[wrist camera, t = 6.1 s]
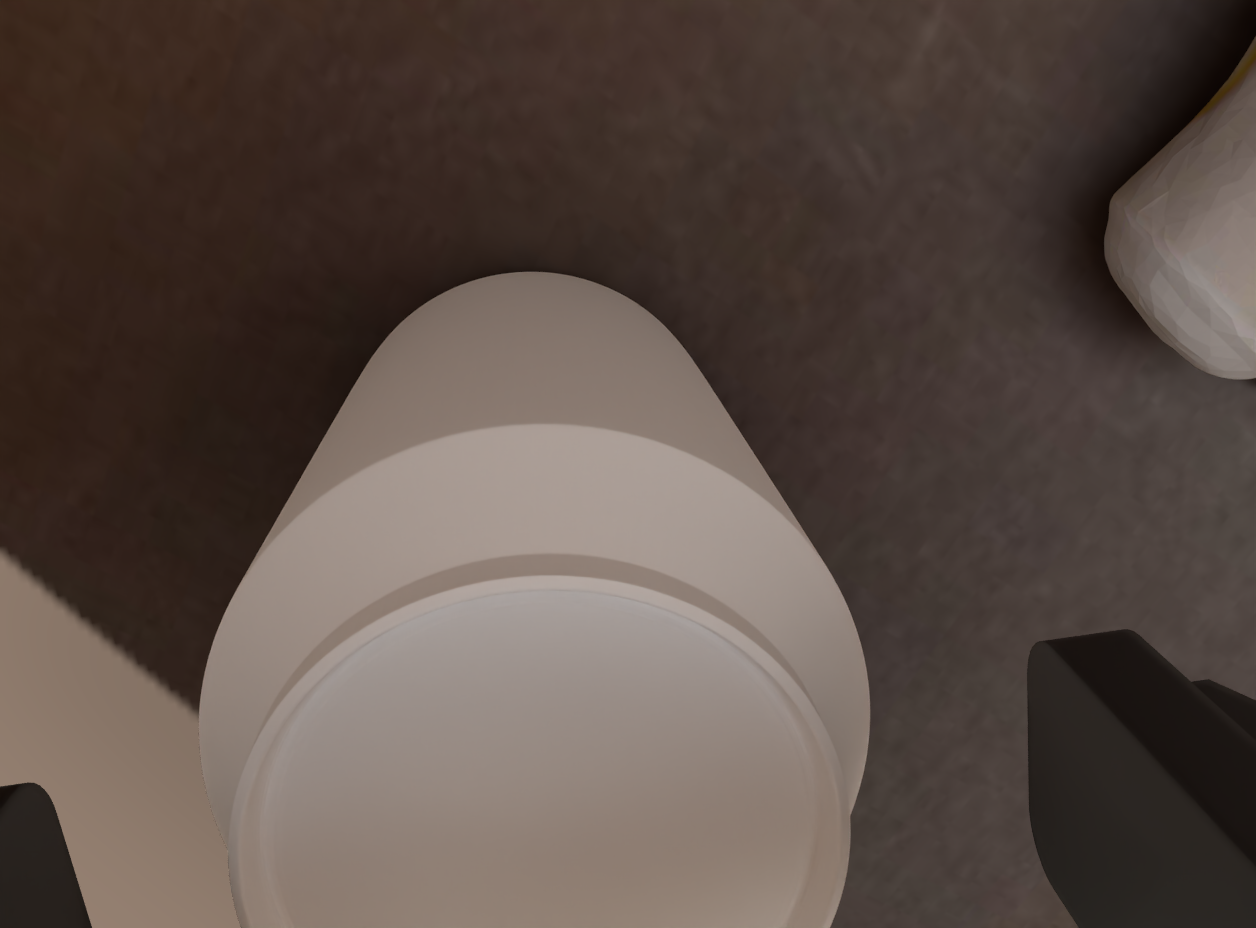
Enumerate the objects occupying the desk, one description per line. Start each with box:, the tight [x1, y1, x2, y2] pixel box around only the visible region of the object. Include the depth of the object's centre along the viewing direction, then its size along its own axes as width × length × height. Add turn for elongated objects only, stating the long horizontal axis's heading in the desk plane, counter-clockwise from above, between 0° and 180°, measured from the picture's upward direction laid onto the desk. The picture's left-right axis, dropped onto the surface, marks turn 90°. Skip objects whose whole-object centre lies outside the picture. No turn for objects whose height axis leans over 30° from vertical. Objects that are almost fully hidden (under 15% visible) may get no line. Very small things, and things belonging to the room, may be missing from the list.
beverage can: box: [199, 272, 870, 928], centre depth 15 cm, size 6×6×12 cm
